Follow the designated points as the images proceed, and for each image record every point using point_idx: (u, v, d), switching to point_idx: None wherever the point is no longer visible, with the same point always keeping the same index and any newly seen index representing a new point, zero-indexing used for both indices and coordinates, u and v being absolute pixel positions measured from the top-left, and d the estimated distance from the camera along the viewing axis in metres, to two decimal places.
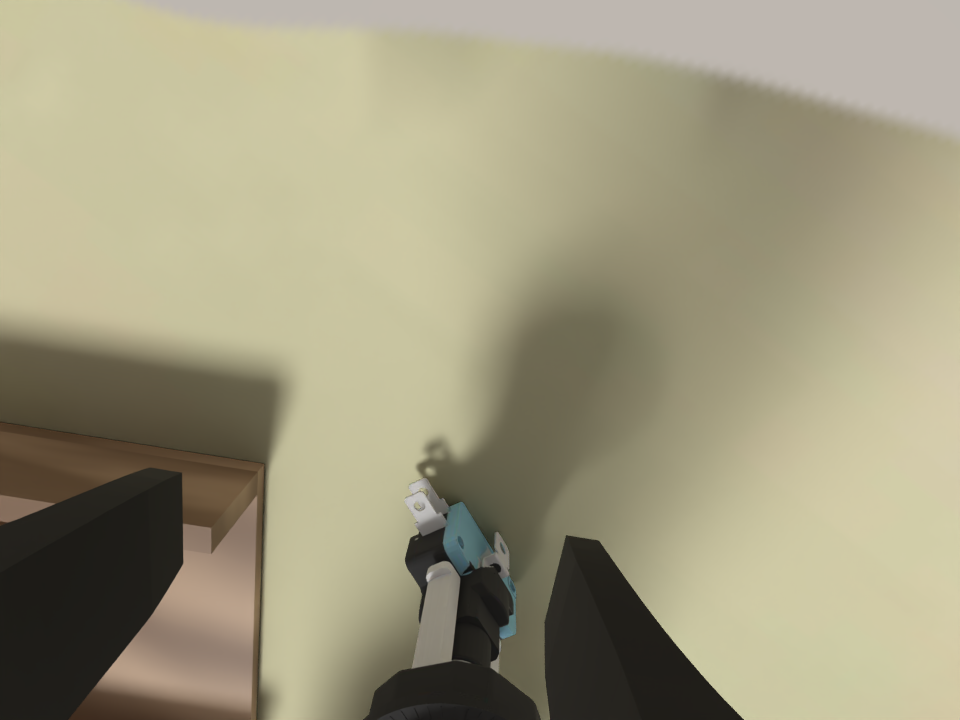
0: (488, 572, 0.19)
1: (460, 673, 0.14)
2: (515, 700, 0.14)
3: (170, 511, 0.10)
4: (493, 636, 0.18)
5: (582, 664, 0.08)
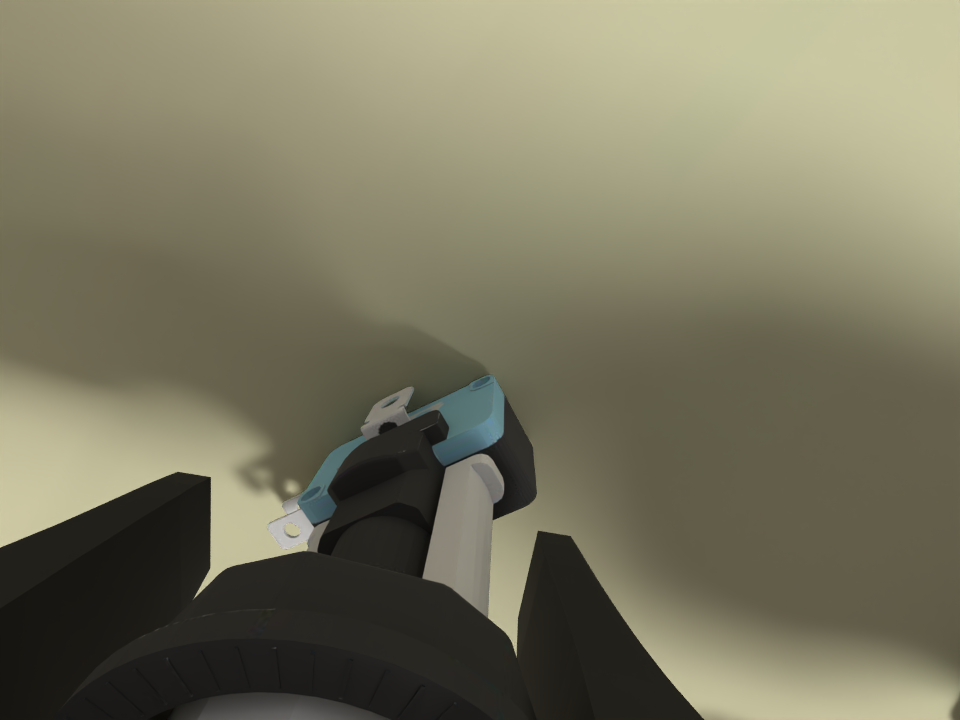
0: (341, 464, 0.11)
1: None
2: None
3: (198, 516, 0.10)
4: (374, 507, 0.09)
5: (547, 658, 0.08)
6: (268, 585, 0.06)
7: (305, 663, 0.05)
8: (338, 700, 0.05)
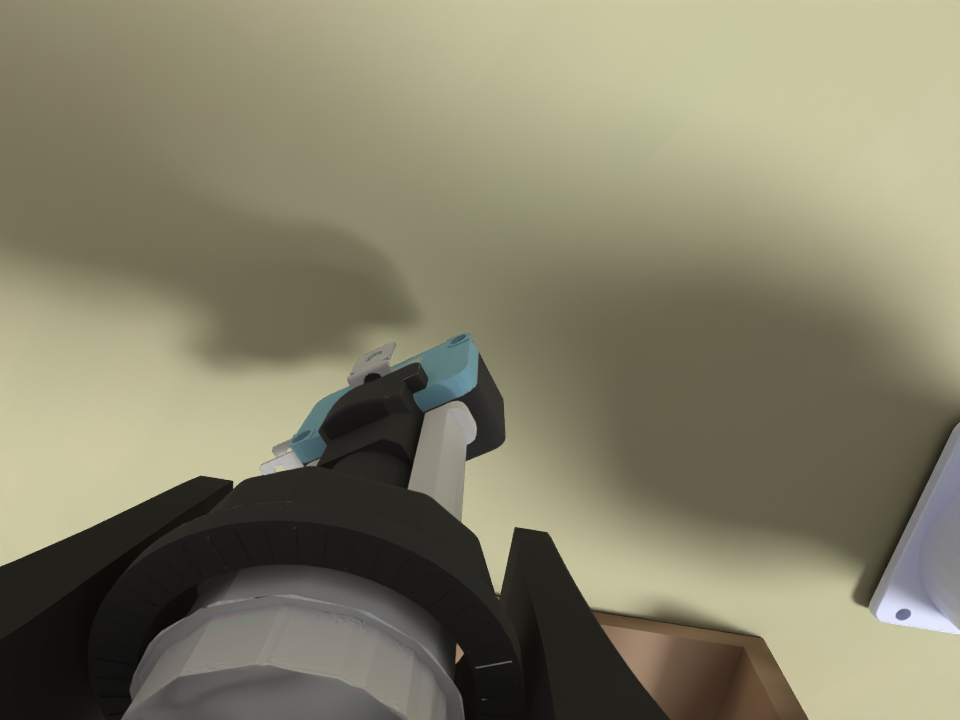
0: (330, 409, 0.12)
1: None
2: None
3: None
4: (362, 443, 0.11)
5: None
6: (282, 489, 0.07)
7: (318, 540, 0.06)
8: (343, 570, 0.06)
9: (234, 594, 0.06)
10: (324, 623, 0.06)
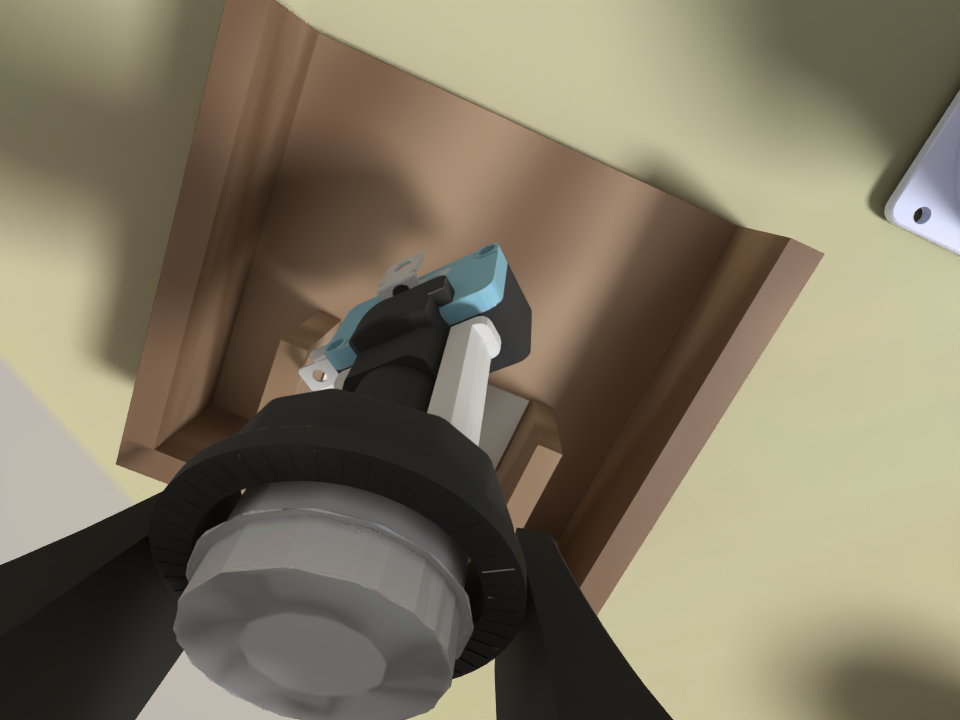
0: (359, 321, 0.13)
1: None
2: None
3: None
4: (388, 357, 0.11)
5: (520, 654, 0.08)
6: (306, 411, 0.07)
7: (336, 462, 0.07)
8: (360, 488, 0.07)
9: (267, 503, 0.07)
10: (344, 533, 0.07)
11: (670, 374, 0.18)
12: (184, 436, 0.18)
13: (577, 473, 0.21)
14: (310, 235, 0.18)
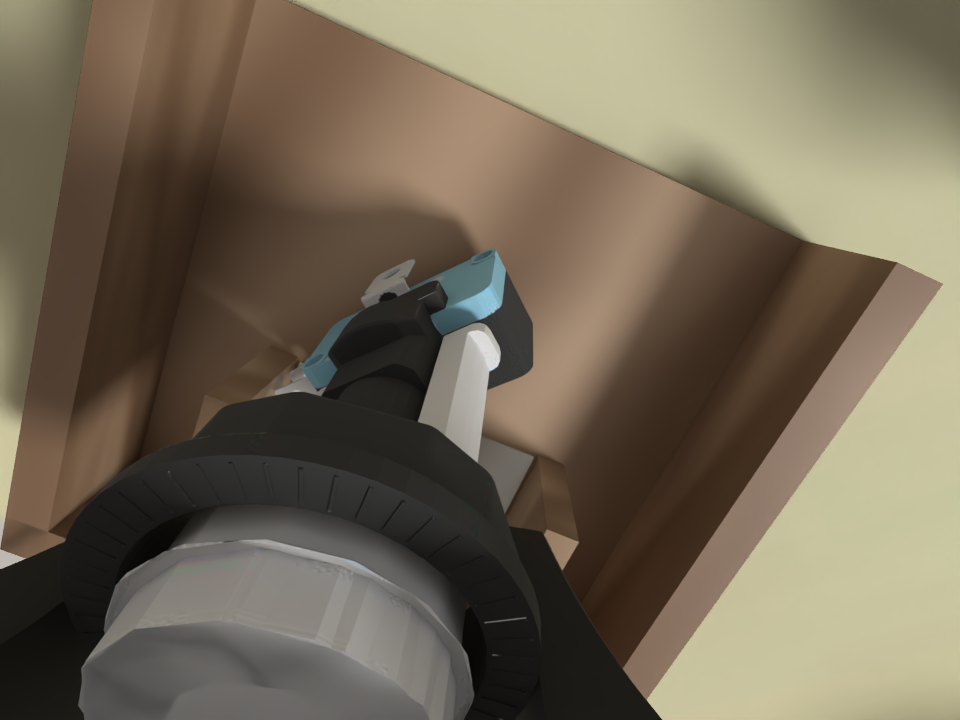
0: (341, 331, 0.11)
1: None
2: None
3: None
4: (371, 368, 0.10)
5: None
6: (262, 418, 0.06)
7: (295, 478, 0.05)
8: (327, 513, 0.05)
9: (208, 534, 0.06)
10: (304, 573, 0.05)
11: (715, 430, 0.14)
12: None
13: (593, 543, 0.17)
14: (256, 252, 0.14)
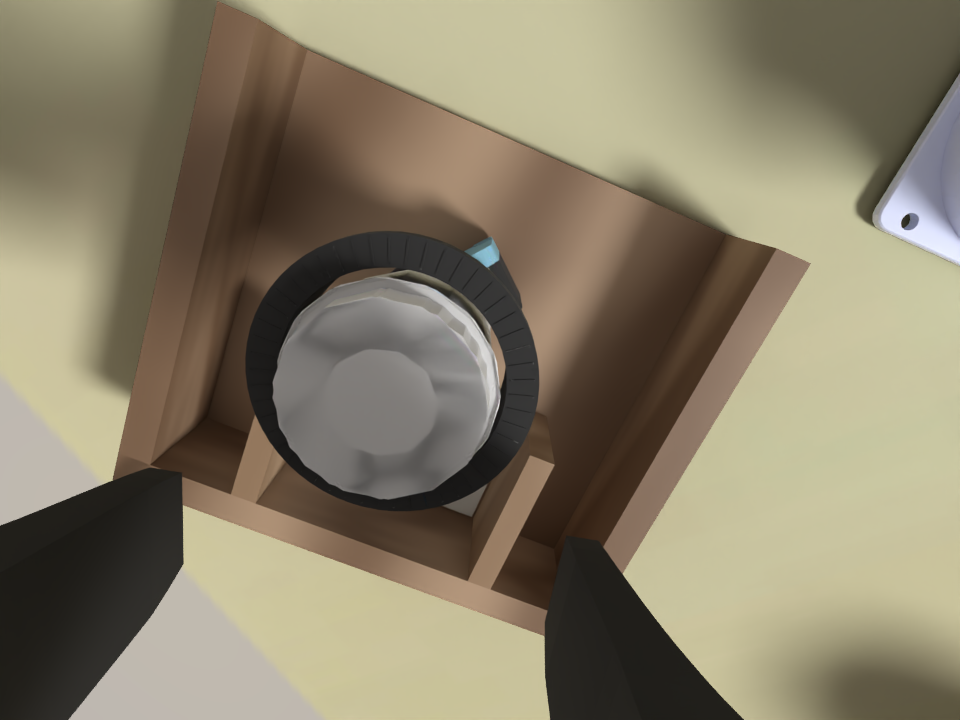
0: None
1: None
2: None
3: (170, 511, 0.10)
4: None
5: (582, 664, 0.08)
6: None
7: (403, 247, 0.09)
8: (418, 271, 0.09)
9: (347, 294, 0.10)
10: (409, 294, 0.09)
11: (661, 382, 0.18)
12: (180, 450, 0.18)
13: (571, 481, 0.21)
14: (302, 249, 0.18)
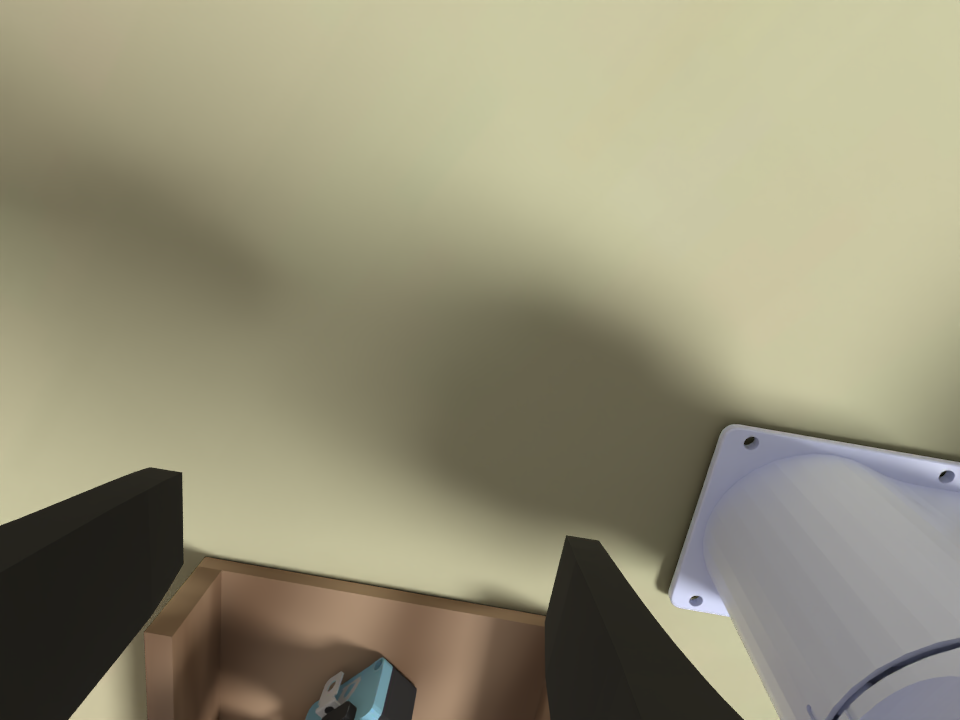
0: None
1: None
2: None
3: (170, 511, 0.10)
4: None
5: (582, 664, 0.08)
6: None
7: None
8: None
9: None
10: None
11: None
12: None
13: None
14: (254, 681, 0.25)
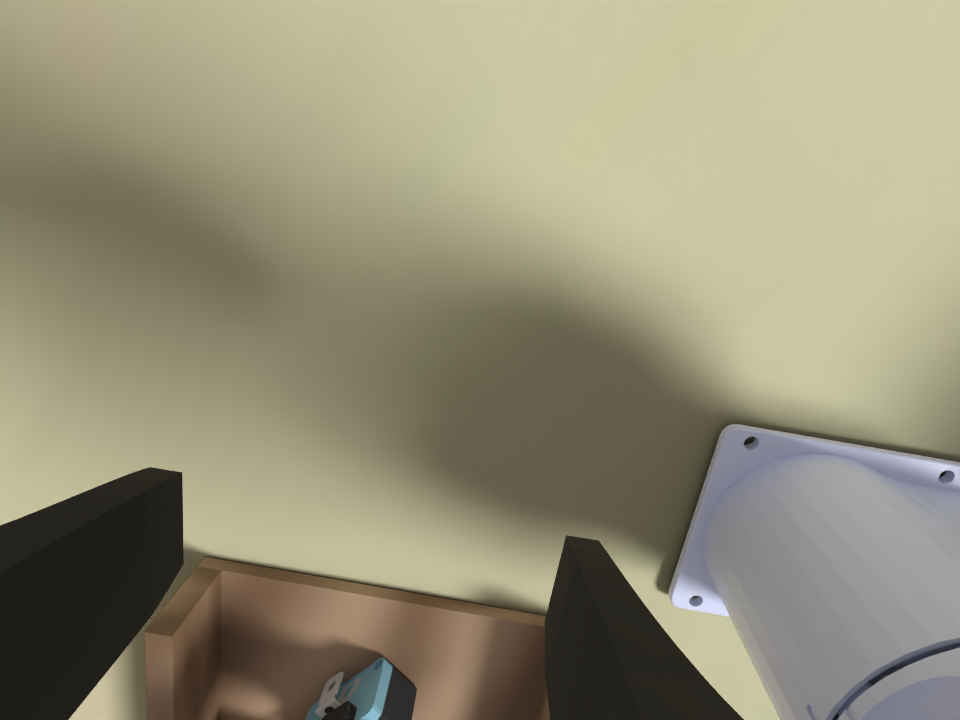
0: None
1: None
2: None
3: (170, 511, 0.10)
4: None
5: (582, 664, 0.08)
6: None
7: None
8: None
9: None
10: None
11: None
12: None
13: None
14: (254, 681, 0.25)
